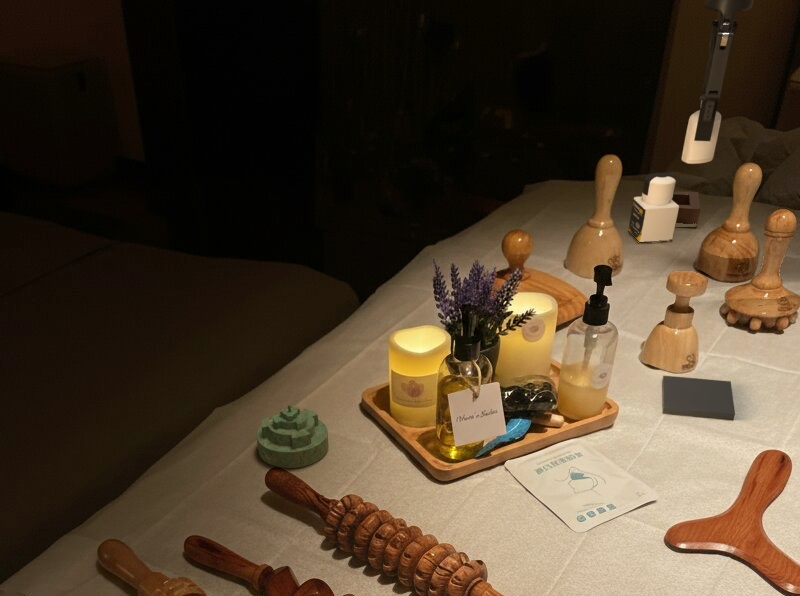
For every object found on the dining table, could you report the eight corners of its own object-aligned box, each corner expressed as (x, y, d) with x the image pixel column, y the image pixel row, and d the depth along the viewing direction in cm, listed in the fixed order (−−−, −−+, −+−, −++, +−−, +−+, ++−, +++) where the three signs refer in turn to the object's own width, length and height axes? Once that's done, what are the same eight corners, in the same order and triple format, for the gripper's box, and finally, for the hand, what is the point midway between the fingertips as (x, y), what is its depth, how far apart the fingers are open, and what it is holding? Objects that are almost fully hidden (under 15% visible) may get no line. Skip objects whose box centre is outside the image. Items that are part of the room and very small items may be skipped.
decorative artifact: (343, 447, 124) (297, 422, 130) (340, 403, 119) (293, 380, 125) (289, 476, 119) (244, 449, 124) (285, 432, 114) (238, 405, 120)
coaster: (729, 387, 134) (730, 381, 133) (733, 420, 127) (735, 414, 126) (662, 381, 136) (663, 375, 135) (662, 413, 129) (663, 407, 128)
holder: (694, 211, 193) (698, 192, 190) (696, 228, 185) (700, 208, 182) (642, 208, 195) (646, 189, 192) (642, 225, 187) (646, 206, 184)
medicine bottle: (627, 231, 184) (637, 171, 176) (660, 229, 185) (671, 169, 177) (638, 243, 179) (649, 182, 171) (672, 241, 179) (685, 179, 171)
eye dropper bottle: (713, 165, 158) (729, 90, 150) (681, 163, 159) (695, 89, 151) (712, 158, 161) (727, 84, 153) (680, 157, 162) (694, 84, 155)
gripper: (707, -27, 149) (680, 123, 165) (710, -13, 137) (680, 149, 152) (754, -27, 148) (721, 124, 163) (761, -13, 135) (725, 150, 151)
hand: (701, 136), depth 158 cm, fingers closed on eye dropper bottle, 4 cm apart
